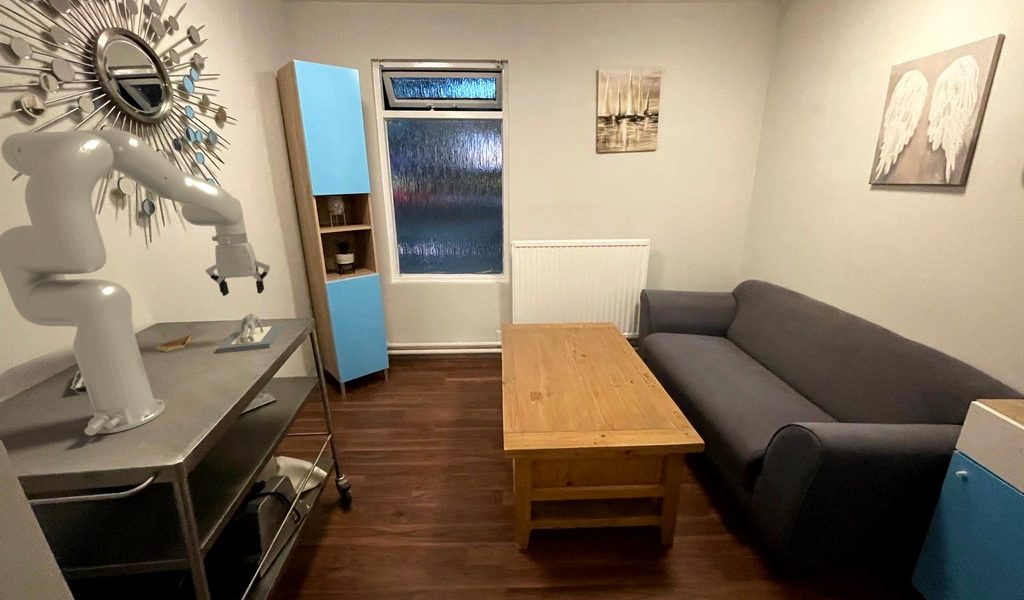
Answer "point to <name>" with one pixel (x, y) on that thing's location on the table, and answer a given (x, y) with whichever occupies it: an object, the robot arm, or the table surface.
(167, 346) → the shard
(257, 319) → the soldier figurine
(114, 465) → the table surface
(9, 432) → the table surface
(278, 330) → the base plate
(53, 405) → the table surface
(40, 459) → the table surface
